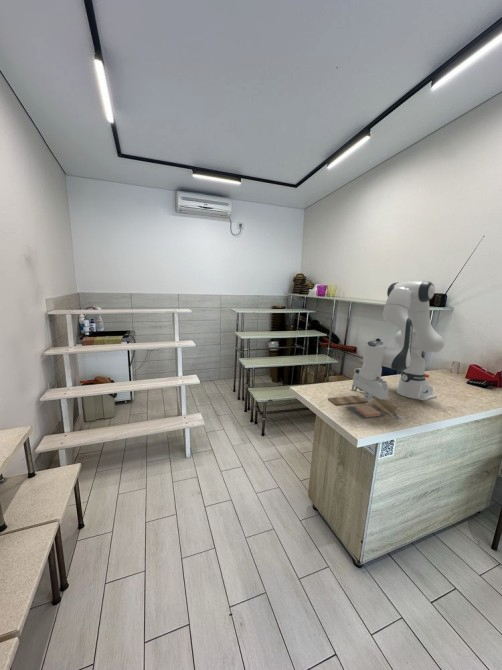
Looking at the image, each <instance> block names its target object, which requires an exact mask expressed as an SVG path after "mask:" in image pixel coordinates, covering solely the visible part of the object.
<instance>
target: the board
mask: <svg viewBox="0 0 502 670" xmlns="http://www.w3.org/2000/svg"><path fill="white" fill-rule="evenodd" d="M327 400H328V401H329V402H330V403H332V404H333V405H335V407H338V406H347V405H359V404H368V403H369V402H368V401H367V400H365V399H364V398H363V397H361V396H360V395H348V396H337V397H335V396H334V397H328V398H327Z"/></svg>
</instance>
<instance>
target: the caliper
mask: <svg viewBox="0 0 502 670" xmlns="http://www.w3.org/2000/svg"><path fill="white" fill-rule="evenodd" d="M351 390H354V391H355V392H356V391H357V390H358V391H361V392H363V390H362V389H360V388H358V387H357V386H355V385H354V384H353V383H352V385H351ZM368 394H369V393H368ZM372 398H374V399H375V396H373V397H372Z"/></svg>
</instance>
